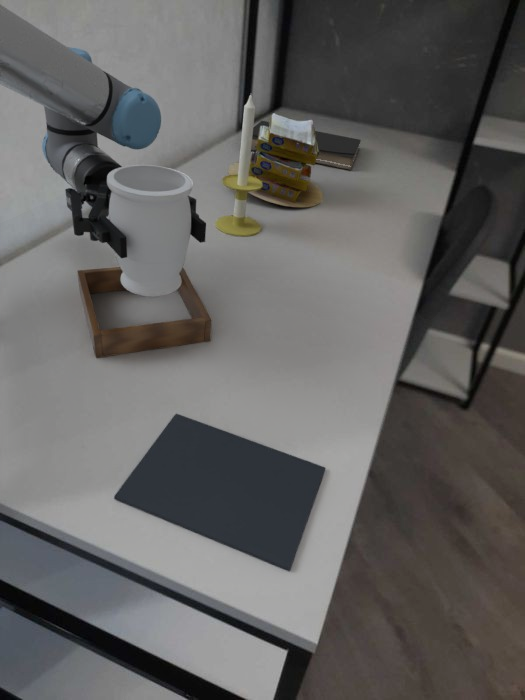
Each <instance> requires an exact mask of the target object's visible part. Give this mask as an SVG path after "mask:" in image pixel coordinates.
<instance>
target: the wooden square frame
mask: <svg viewBox="0 0 525 700" xmlns="http://www.w3.org/2000/svg"><path fill="white" fill-rule="evenodd" d="M76 273H77V280H78V289H79V290H78V291H79V295H80V299H81V302H82V303H81V304H82V307H83V312H84V316H85V319H86V322H87V328H88V331H89V335H90V340H91V344H92V348H93V352H94V356H95V358H102V357H103V358H104V357H111V356H116V355H122V354H130V353H136V352H143V351H144V352H145V351H149V350H156V349H163V348H170V347H171V348H172V347H177V346H184V345H191V344H198V343H206V342H210V341H211V335H212V324H213V323H212V322H213V320H212V317H211V316H210V314H209V312H208V311H207V308H206V306H205V304H204V303H203V301H202V299H201V297H200V296H199V294H198V292H197V290H196V288H195V286H194V284H193V282H192V281H191V279H190V277H189V275H188V273H187V271H186V270H185V268H184V266H183V267H182V269H181V271H180V273H179V274H180V276H181V280H182V283H181V286H180V287H179V288H178V289H177V290H178V292H179V294H180V296H181V299H182V300H183V303H184V305H185V307H186V308H187V310H188V312H189V314H190V316H191V318H186V319H185V318H184V319H178V320H177V319H176V320H171V321H163V322H154V323H147V324H139V325H130V326H124V327H123V326H122V327H115V328H108V329H107V328H106V329H101V328H100V325H99V322H98V318H97V315H96V311H95V307H94V303H93V300H92V296H91V294H99V293H108V292H117V291H125V290H126V291H128V290H127V289H126V288H124V287H123V285H122V284H121V280H120V278H121V274H122V273H123V271H122V270H121V268H120V266H114V267H113V266H112V267H102V268H91V269H79V270H76Z"/></svg>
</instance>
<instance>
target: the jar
mask: <svg viewBox="0 0 525 700" xmlns="http://www.w3.org/2000/svg"><path fill="white" fill-rule="evenodd" d="M193 183H194V182H193V179H192V178H191V177H190V176H189V175H187V174H186V173H184V172H182V171H180V170H178V169H175V168H170V167H166V166H161V165H154V164H130V165H124V166H122V167H120V168H117V169H114V170H112V171H111V172H110V173H109V174H108V175H107V185H108V187H109V189H110V190H111V191H112V192H111V196H110V202H109V215H108V219H109V220H110V221H111V222H112V223H113V224H114V225H115V226H116V227H117V228H118V229H119V230H120V231H121V232H122V233H123V234H124V235H125V237H126V242H127V257H126V258H121V257H120V256H119V255H118V254H117V253H116V252H115V251H114V254H115V255H114V256H115V258H116V262H117V264H118V267H120V268H121V270H122V271H123V273H122V274H121V278H120V280H121V284H122V285H123V287H124V288H126V289H127V290H126V291H129V293H132V294H135V295H137V296H142V297H164V296H167V295H170V294H173V293H174V292H176V291H177V290H178V288H179V287H180V286H181V283H182V280H181V276H180V274H179V273H180V271H181V269H182V267H183V268H184V265H185V262H186V258H187V253H188V248H189V245H190V244H189V243H190V239H191V235H190V233H191V209H190V203H189V198H188V196H190V194H191V193H192V191H193Z"/></svg>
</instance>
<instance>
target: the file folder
mask: <svg viewBox="0 0 525 700" xmlns="http://www.w3.org/2000/svg"><path fill="white" fill-rule="evenodd" d="M261 125H263V126H267V127H269V125H270V121H269V123H268V121H267V120H260V121H259V122H258V123H257V124H255V126H253V135H252V145H251V152H253V151H254V152H255V148H254V147H255V146H257V143H256V142H257V140H258V134H259V129H260V126H261ZM315 139H316V141H317V146H318V150H319V155H318V157H317V159H321V160H327V161H332V162H336V163H340V164H345V165H350V166H352V167H348V166H343V165H338V164H334V163H330V162H325V161H320V160H316V162H315V164H317V165H320V166H321V165H322V166H327V167H332V168H337V169H341V170H345V171H346V170H347V171H351V170H352V168H353V165H354V163H355V160H356V157H357V155H358V153H359V149H360V146H359V144H360V145H361V141H362V140H361V139H359V138H355V137H349V136H343V135H339V134H334V133H328V132H323V131H318V130H315ZM358 147H359V148H358ZM357 150H358V151H357ZM356 153H357V154H356ZM355 155H356V156H355ZM354 158H355V159H354ZM353 160H354V161H353Z"/></svg>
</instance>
